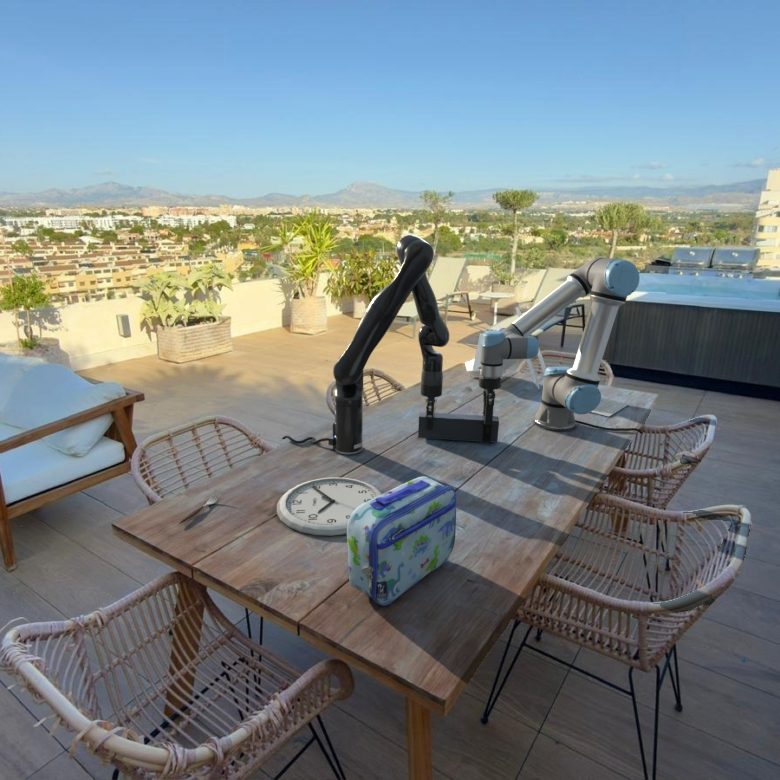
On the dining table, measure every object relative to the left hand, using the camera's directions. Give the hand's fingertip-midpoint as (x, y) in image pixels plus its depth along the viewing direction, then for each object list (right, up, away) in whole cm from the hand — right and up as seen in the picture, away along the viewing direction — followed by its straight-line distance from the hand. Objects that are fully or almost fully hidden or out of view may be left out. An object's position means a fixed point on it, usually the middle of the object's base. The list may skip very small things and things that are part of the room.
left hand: (429, 426), depth 188 cm
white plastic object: (+42, +16, +70) cm, 83 cm away
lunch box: (-12, -28, -74) cm, 80 cm away
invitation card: (+77, +6, +38) cm, 86 cm away
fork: (-65, -19, -49) cm, 84 cm away
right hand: (+20, -4, -1) cm, 20 cm away
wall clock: (-30, -18, -45) cm, 57 cm away
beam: (+10, -4, 0) cm, 11 cm away
